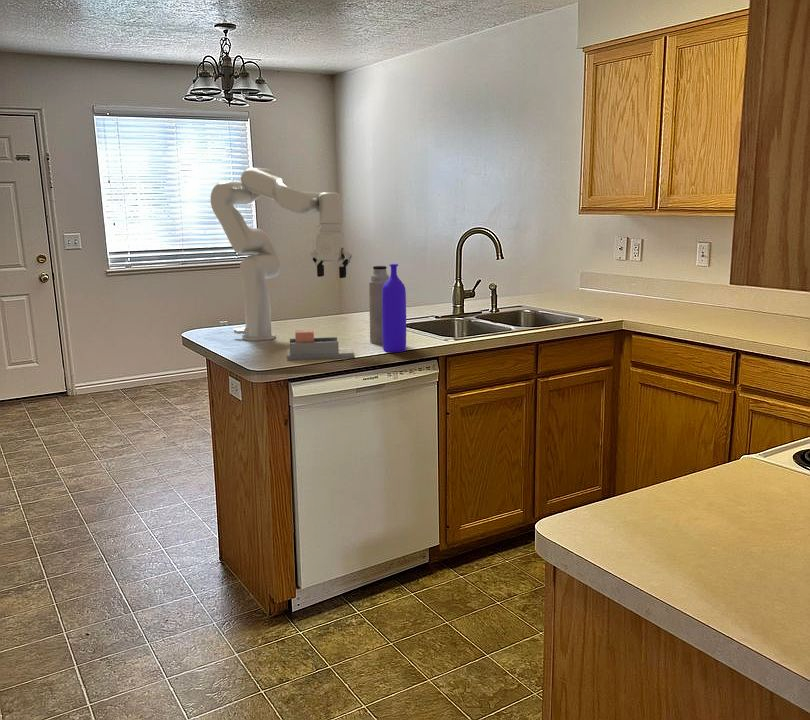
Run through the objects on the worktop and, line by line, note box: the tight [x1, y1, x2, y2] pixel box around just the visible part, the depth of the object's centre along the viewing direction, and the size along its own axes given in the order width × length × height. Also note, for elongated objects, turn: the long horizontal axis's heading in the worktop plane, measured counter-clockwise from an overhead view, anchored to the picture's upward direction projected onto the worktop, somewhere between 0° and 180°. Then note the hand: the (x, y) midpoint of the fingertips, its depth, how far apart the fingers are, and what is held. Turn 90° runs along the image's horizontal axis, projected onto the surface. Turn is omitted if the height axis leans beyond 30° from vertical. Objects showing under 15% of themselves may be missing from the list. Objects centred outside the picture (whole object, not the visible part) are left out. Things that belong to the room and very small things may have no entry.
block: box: [294, 329, 315, 343], centre depth 250 cm, size 6×6×7 cm
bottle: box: [382, 263, 407, 353], centre depth 257 cm, size 8×8×30 cm
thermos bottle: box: [368, 265, 390, 345], centre depth 272 cm, size 8×8×28 cm
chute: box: [286, 336, 355, 361], centre depth 251 cm, size 22×10×6 cm, turn 98°
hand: (331, 277), depth 265 cm, fingers open, 9 cm apart
